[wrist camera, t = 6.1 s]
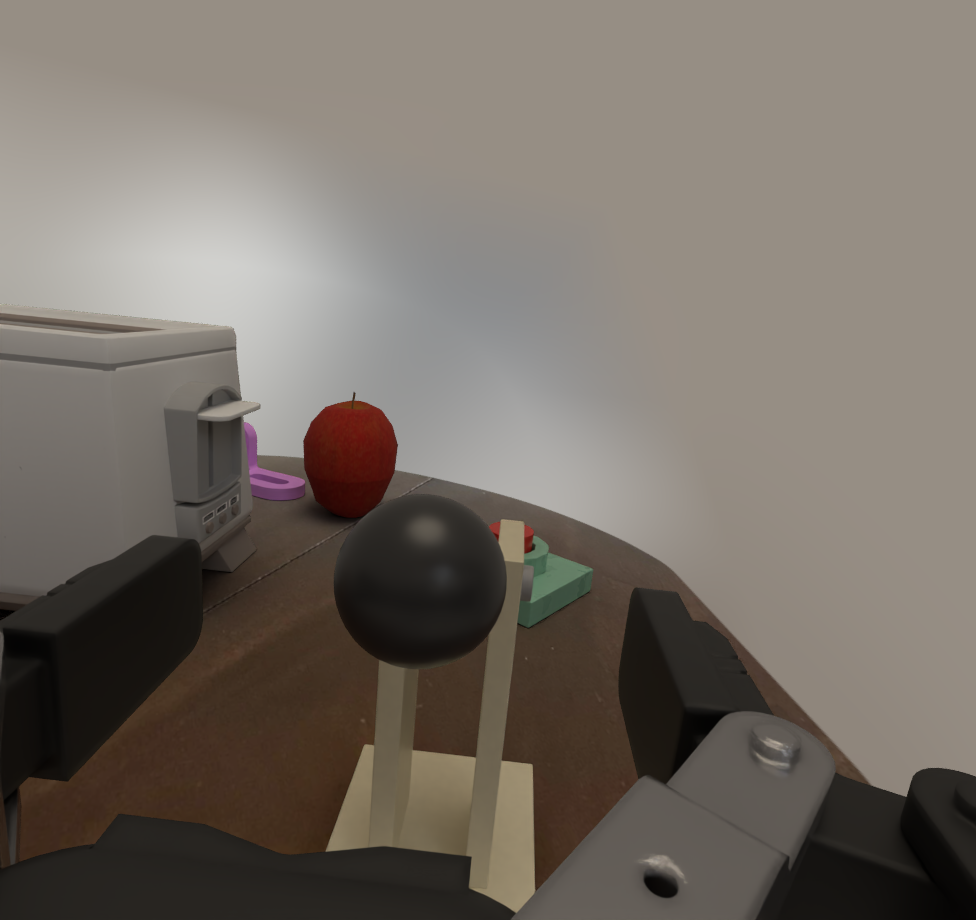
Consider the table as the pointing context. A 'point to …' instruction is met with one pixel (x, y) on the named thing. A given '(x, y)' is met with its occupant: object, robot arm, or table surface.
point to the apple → (350, 457)
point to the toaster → (116, 443)
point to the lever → (420, 581)
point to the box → (551, 583)
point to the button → (527, 535)
